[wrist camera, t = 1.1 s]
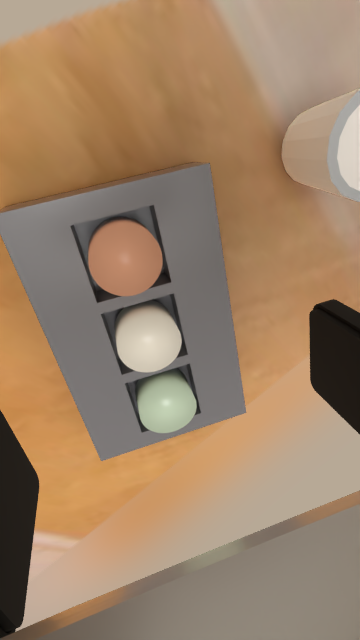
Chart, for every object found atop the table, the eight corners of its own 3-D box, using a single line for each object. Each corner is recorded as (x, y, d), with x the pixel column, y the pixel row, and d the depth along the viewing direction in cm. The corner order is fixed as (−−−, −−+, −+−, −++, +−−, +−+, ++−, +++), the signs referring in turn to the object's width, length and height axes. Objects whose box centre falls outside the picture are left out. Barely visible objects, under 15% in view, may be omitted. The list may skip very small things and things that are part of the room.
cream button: (166, 292, 27) (174, 307, 25) (178, 343, 30) (186, 361, 27) (106, 309, 27) (108, 326, 24) (123, 359, 29) (127, 380, 26)
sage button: (182, 359, 30) (190, 378, 28) (191, 400, 33) (201, 422, 30) (128, 375, 30) (132, 397, 27) (142, 416, 32) (147, 440, 29)
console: (193, 162, 26) (209, 163, 23) (230, 387, 36) (246, 412, 33) (5, 206, 24) (-9, 214, 21) (100, 430, 35) (101, 461, 31)
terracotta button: (146, 209, 24) (153, 215, 22) (161, 272, 27) (169, 285, 24) (78, 226, 24) (77, 234, 21) (100, 289, 26) (101, 304, 23)
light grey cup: (363, 156, 29) (436, 156, 23) (297, 209, 30) (351, 223, 24) (331, 75, 26) (407, 50, 20) (258, 137, 27) (310, 131, 20)
